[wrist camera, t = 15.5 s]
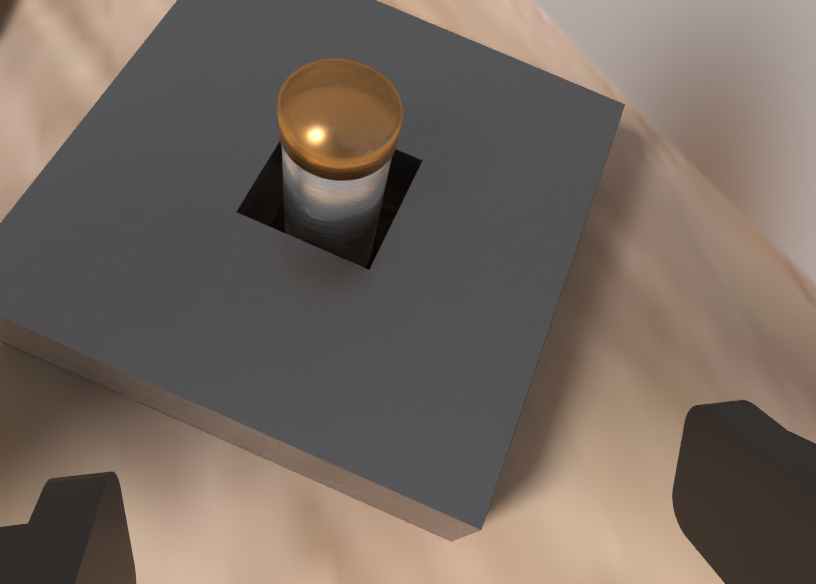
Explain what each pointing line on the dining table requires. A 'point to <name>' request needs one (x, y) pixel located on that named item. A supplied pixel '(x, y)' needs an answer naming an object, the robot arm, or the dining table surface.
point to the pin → (337, 153)
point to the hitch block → (314, 251)
